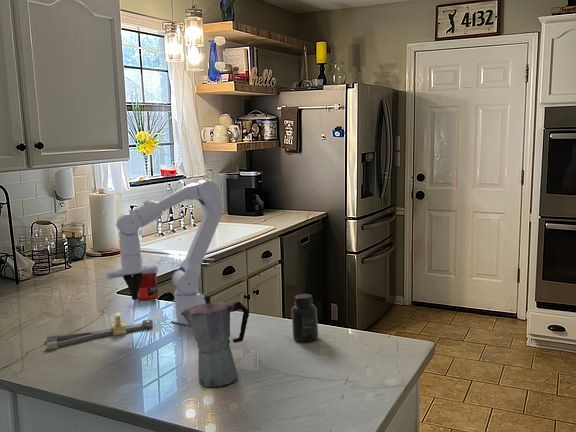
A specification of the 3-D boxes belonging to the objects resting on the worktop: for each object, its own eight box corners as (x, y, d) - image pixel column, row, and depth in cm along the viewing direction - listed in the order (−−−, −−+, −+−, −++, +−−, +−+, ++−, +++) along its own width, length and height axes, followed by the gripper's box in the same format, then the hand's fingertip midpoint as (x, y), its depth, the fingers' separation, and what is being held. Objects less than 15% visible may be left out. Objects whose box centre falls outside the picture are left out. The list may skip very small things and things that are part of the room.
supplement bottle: (321, 335, 157) (319, 293, 155) (314, 344, 150) (312, 300, 149) (297, 333, 159) (295, 292, 157) (289, 342, 153) (287, 299, 151)
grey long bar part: (150, 322, 177) (149, 316, 176) (155, 330, 168) (155, 324, 168) (47, 340, 165) (46, 333, 165) (47, 350, 157) (46, 343, 157)
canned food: (153, 301, 201) (150, 270, 199) (132, 301, 202) (129, 270, 201) (162, 295, 208) (159, 265, 207) (141, 295, 210) (139, 265, 208)
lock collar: (123, 328, 172) (122, 311, 171) (126, 333, 167) (124, 316, 166) (111, 330, 170) (109, 313, 170) (113, 335, 165) (111, 318, 165)
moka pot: (188, 374, 135) (181, 292, 133) (252, 368, 136) (247, 287, 134) (184, 391, 126) (176, 304, 123) (253, 385, 127) (248, 298, 124)
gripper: (153, 249, 174) (156, 292, 176) (103, 255, 168) (108, 299, 170) (157, 252, 168) (161, 297, 169) (106, 259, 162) (110, 305, 164)
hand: (134, 299), depth 169 cm, fingers closed
